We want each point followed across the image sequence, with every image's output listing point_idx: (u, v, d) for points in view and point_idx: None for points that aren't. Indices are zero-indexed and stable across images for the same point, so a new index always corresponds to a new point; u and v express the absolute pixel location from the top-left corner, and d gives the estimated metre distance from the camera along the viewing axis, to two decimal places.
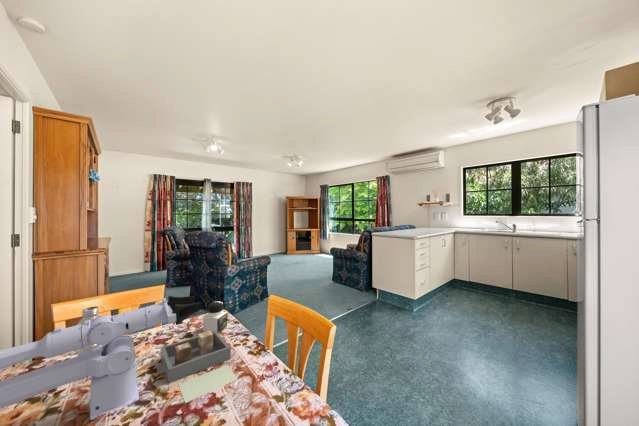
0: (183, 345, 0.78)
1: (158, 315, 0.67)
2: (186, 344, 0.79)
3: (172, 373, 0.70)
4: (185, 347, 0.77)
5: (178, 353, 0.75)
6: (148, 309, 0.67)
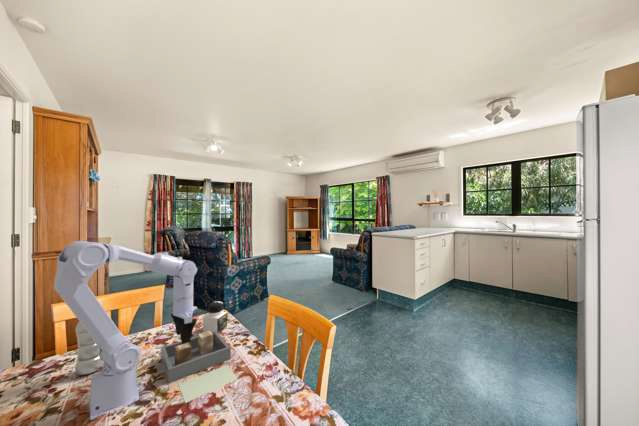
0: (183, 345, 0.78)
1: (187, 306, 0.76)
2: (186, 344, 0.79)
3: (172, 373, 0.70)
4: (185, 347, 0.77)
5: (178, 353, 0.75)
6: (192, 298, 0.79)
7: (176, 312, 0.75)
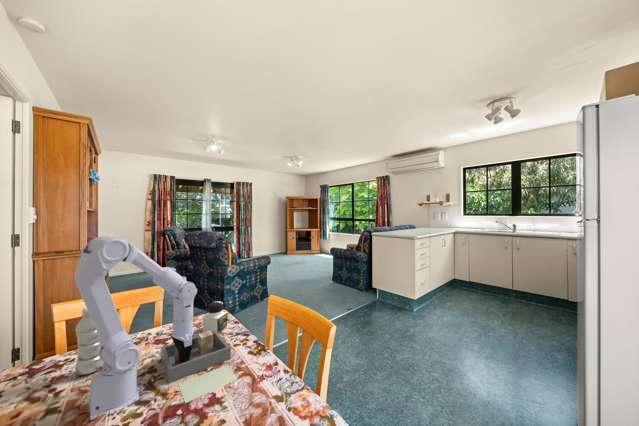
0: None
1: (187, 328, 0.76)
2: None
3: (172, 373, 0.70)
4: None
5: (178, 353, 0.75)
6: (192, 319, 0.78)
7: (176, 334, 0.75)
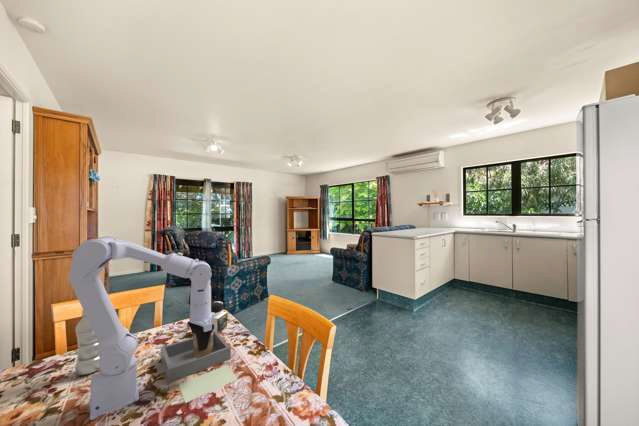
0: None
1: (205, 313, 0.71)
2: None
3: (172, 373, 0.70)
4: None
5: None
6: (210, 303, 0.73)
7: (194, 319, 0.70)
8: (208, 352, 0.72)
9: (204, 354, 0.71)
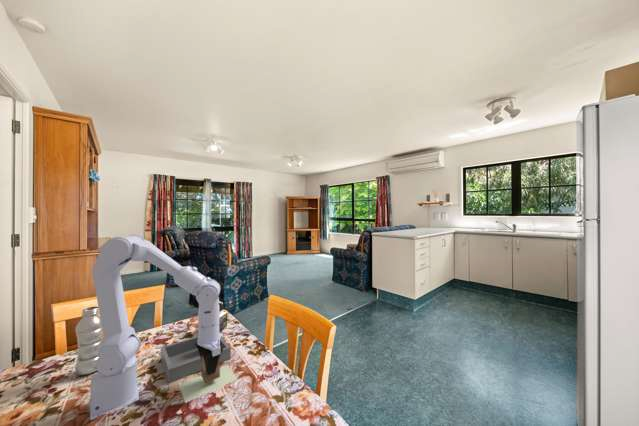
0: None
1: (213, 335, 0.68)
2: None
3: (172, 373, 0.70)
4: None
5: None
6: None
7: (202, 342, 0.67)
8: (217, 375, 0.69)
9: (213, 378, 0.69)
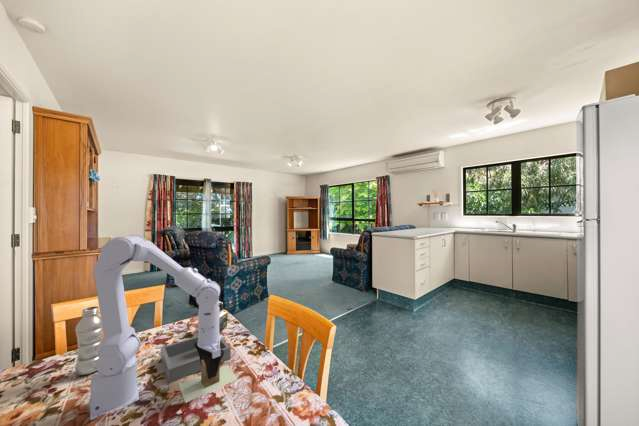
0: None
1: (213, 337, 0.68)
2: None
3: (172, 373, 0.70)
4: None
5: None
6: None
7: (202, 344, 0.67)
8: (216, 380, 0.69)
9: (212, 382, 0.69)
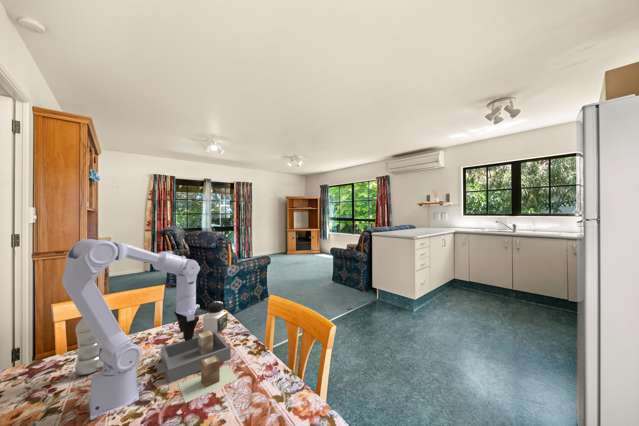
0: (210, 359, 0.71)
1: (190, 304, 0.78)
2: (213, 358, 0.71)
3: (172, 373, 0.70)
4: (212, 361, 0.69)
5: (206, 368, 0.67)
6: (195, 296, 0.80)
7: (179, 310, 0.77)
8: (216, 380, 0.69)
9: (212, 382, 0.69)
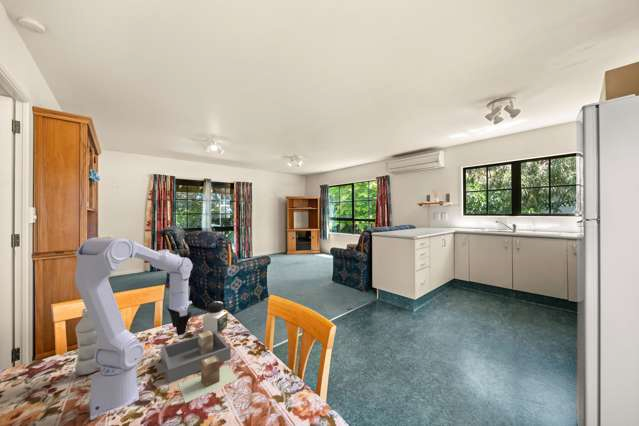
0: (210, 359, 0.71)
1: (182, 300, 0.82)
2: (213, 358, 0.71)
3: (172, 373, 0.70)
4: (212, 361, 0.69)
5: (206, 368, 0.67)
6: (187, 293, 0.84)
7: (172, 306, 0.81)
8: (216, 380, 0.69)
9: (212, 382, 0.69)
